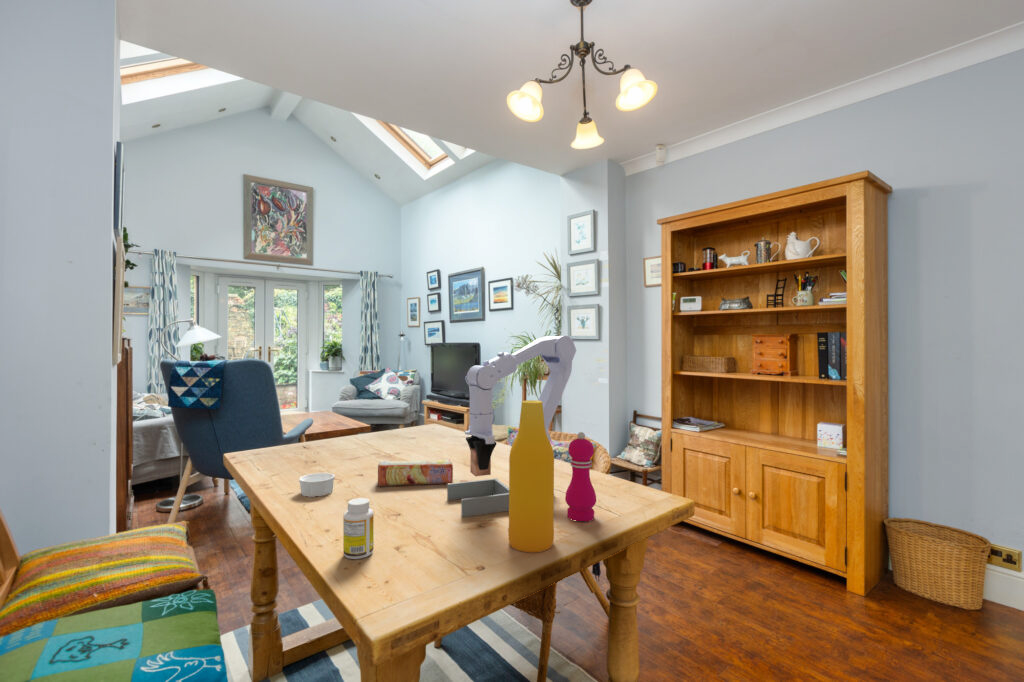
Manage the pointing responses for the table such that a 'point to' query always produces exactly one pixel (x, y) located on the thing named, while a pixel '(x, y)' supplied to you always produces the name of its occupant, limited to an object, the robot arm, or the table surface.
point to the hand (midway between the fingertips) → (480, 467)
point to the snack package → (415, 472)
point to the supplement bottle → (358, 529)
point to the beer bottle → (531, 483)
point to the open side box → (482, 503)
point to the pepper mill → (580, 481)
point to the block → (474, 465)
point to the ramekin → (316, 484)
